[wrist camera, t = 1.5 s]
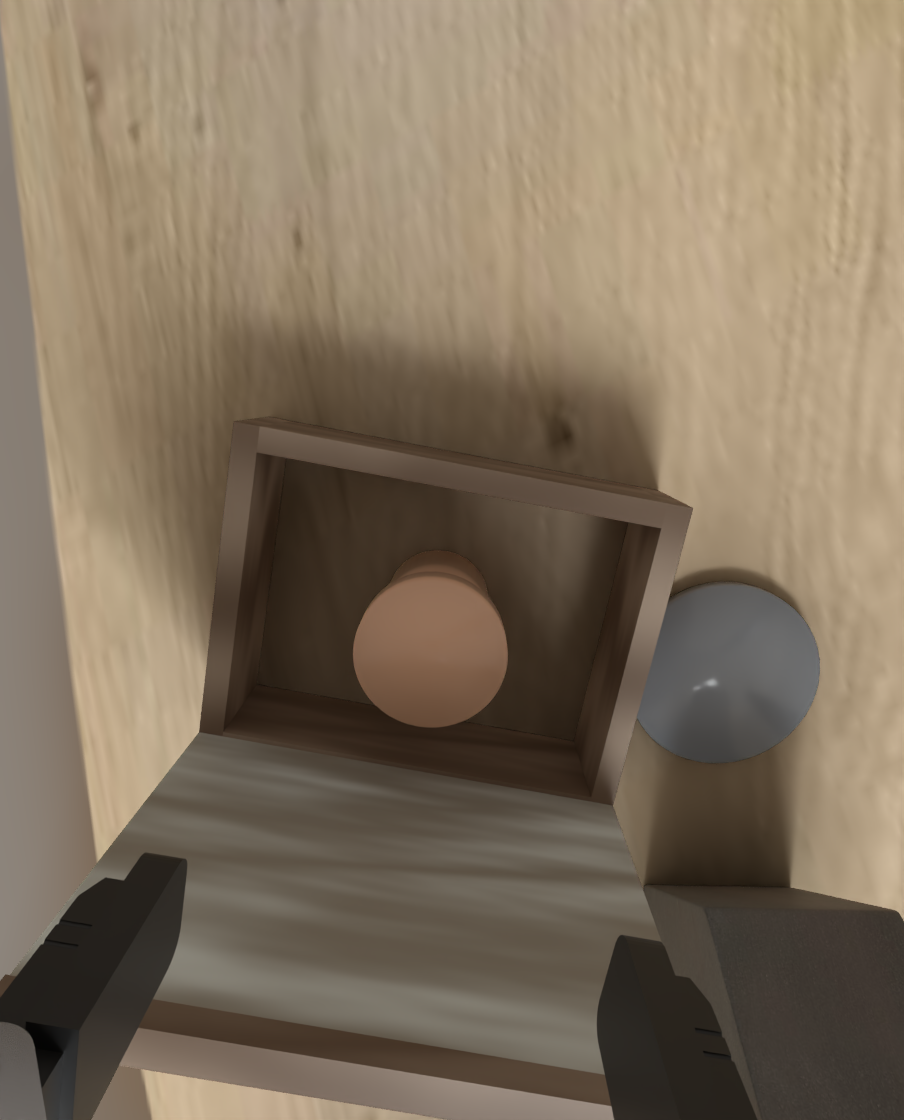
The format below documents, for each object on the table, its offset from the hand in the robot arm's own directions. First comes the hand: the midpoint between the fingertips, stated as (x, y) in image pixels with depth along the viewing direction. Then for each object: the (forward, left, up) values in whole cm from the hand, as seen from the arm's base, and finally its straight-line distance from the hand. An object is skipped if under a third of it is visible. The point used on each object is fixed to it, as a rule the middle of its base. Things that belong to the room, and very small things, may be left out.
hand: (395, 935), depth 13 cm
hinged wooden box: (0, 0, -21) cm, 21 cm away
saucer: (+1, +14, -21) cm, 26 cm away
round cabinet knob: (0, 0, -21) cm, 21 cm away
